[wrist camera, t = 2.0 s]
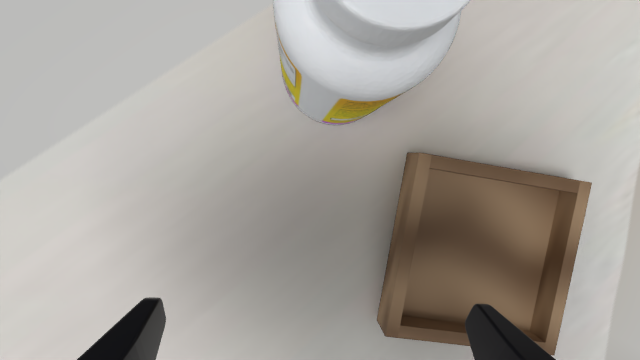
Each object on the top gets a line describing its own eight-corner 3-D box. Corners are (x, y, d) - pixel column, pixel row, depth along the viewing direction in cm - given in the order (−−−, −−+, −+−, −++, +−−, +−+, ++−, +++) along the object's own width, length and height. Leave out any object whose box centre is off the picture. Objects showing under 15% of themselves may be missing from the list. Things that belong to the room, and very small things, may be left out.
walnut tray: (531, 338, 23) (554, 355, 21) (376, 319, 22) (385, 336, 20) (564, 180, 22) (591, 182, 20) (407, 152, 21) (419, 152, 19)
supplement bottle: (404, 62, 20) (591, -95, 8) (346, 145, 21) (437, 127, 8) (320, -3, 20) (373, -296, 7) (261, 85, 20) (204, -47, 7)
